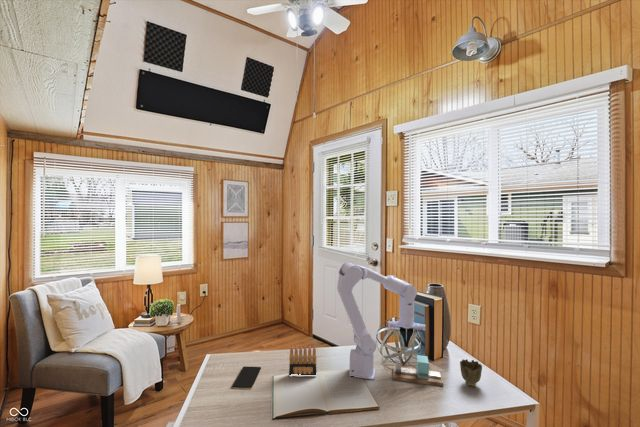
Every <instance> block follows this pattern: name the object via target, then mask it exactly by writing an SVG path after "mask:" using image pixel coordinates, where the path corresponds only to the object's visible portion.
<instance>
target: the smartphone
mask: <svg viewBox="0 0 640 427" xmlns="http://www.w3.org/2000/svg"><path fill="white" fill-rule="evenodd" d="M261 370H262V367H261V366H243V367H242V369H241V370H240V372H239V373H238V375H237V377H236V379H235V380H234V382H233V383H232V385H231V389H236V390H252V389H253V387H254V385H255V383H256V381H257V378H259V375H260V374H261V373H260V372H261Z"/></svg>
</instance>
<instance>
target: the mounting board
mask: <svg viewBox="0 0 640 427" xmlns="http://www.w3.org/2000/svg"><path fill="white" fill-rule="evenodd" d="M392 367H393V369H392V380H393V381H395V380H396V381H403V382H409V383H418V384H424V385H432V386H440V387H444V381H443V377H442V373H441V370H435V369H429V371H434V372H440V375H441V379H437V378H430V377H429V379H423V378H418V376H414V375H407V374H401V375H400V374H396V373H395V367H396V364H395V365H393V366H392ZM401 367H402V368H410V369H417V367H410V366H404V365H403V366H402V365H401Z"/></svg>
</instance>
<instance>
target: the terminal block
mask: <svg viewBox="0 0 640 427" xmlns="http://www.w3.org/2000/svg"><path fill="white" fill-rule="evenodd" d="M416 368H417V374H418V378H423V379H429V370H430V363H429V357H428V356H427V355H419V354H418V355H417V354H416Z"/></svg>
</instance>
